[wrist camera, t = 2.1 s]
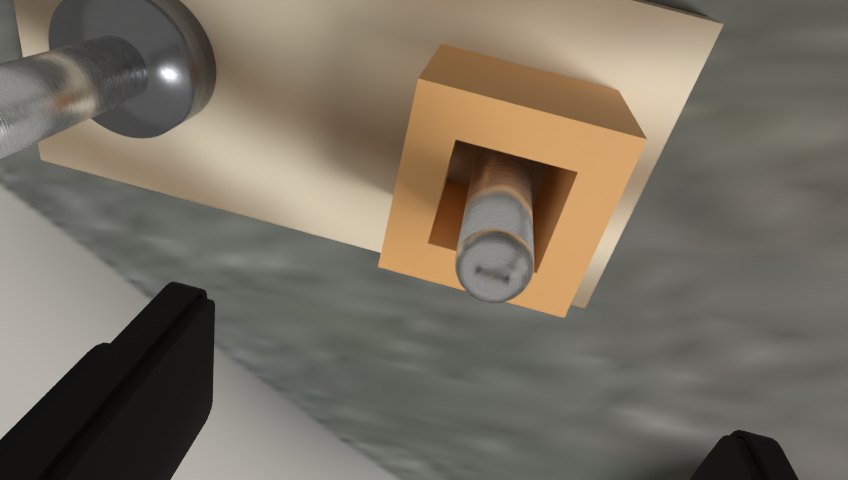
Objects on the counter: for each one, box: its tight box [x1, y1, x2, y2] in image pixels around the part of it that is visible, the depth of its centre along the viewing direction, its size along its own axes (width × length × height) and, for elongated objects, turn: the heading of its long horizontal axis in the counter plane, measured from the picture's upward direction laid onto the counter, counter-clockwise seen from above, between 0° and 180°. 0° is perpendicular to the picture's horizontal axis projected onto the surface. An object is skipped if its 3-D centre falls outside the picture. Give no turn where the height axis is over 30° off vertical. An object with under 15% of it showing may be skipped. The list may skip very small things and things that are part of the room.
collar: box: [378, 44, 647, 318], centre depth 18 cm, size 6×6×5 cm
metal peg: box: [0, 0, 216, 159], centre depth 17 cm, size 5×5×10 cm
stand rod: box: [455, 145, 534, 303], centre depth 17 cm, size 2×2×9 cm
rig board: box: [13, 0, 724, 308], centre depth 21 cm, size 12×25×2 cm, turn 78°
